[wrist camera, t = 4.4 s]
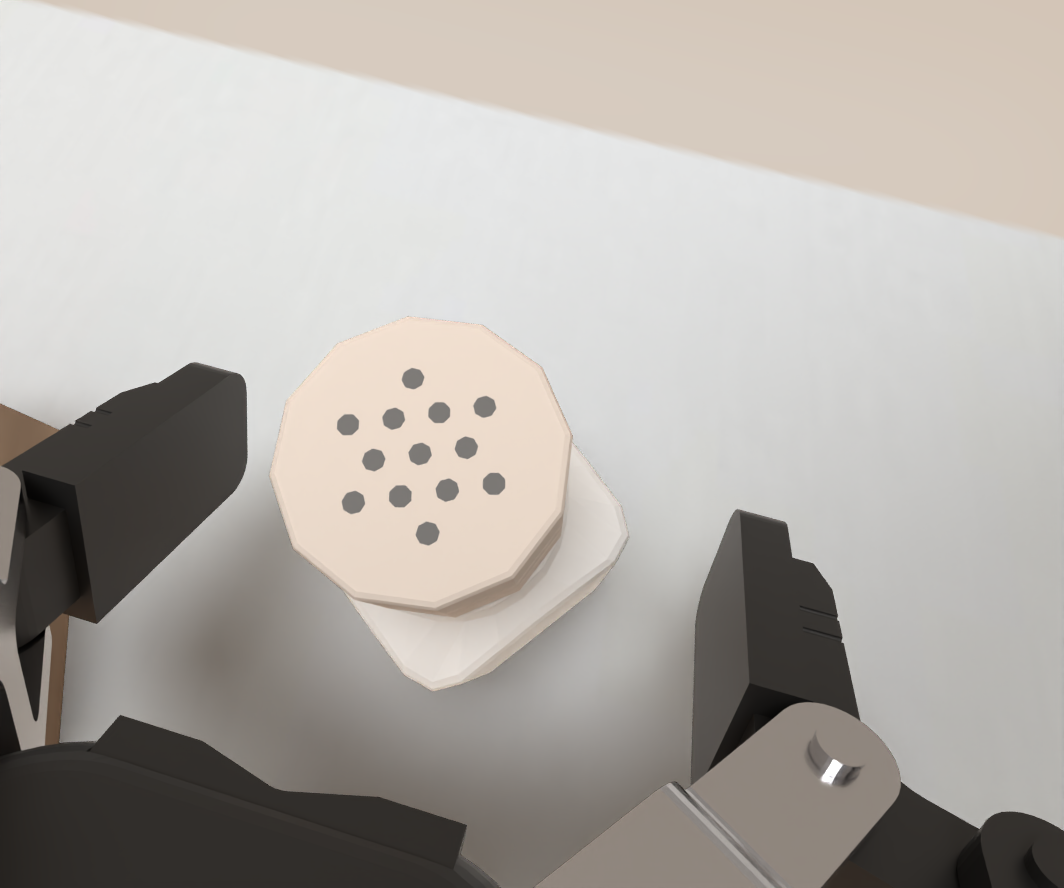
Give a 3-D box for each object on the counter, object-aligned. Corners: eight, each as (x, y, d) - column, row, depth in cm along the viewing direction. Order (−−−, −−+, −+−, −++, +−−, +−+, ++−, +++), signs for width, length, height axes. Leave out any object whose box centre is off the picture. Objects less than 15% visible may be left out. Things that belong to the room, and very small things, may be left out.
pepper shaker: (506, 438, 18) (461, 215, 9) (614, 575, 17) (692, 487, 8) (367, 542, 17) (158, 421, 8) (470, 689, 16) (369, 741, 7)
